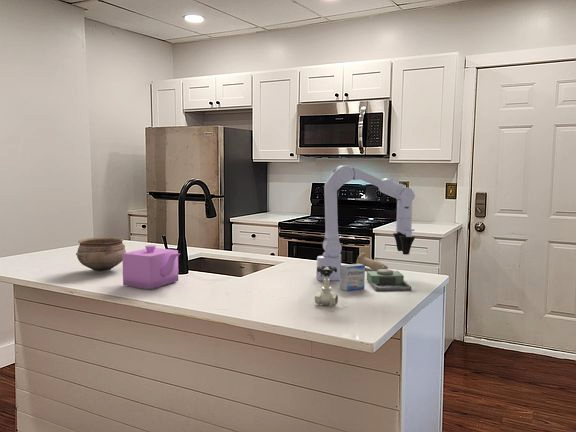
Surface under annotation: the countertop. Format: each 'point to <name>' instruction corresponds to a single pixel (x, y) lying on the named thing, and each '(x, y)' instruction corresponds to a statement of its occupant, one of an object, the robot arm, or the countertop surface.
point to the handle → (370, 262)
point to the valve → (326, 288)
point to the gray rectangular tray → (391, 287)
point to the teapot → (150, 267)
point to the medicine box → (352, 277)
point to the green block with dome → (385, 277)
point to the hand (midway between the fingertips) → (403, 252)
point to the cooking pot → (101, 253)
